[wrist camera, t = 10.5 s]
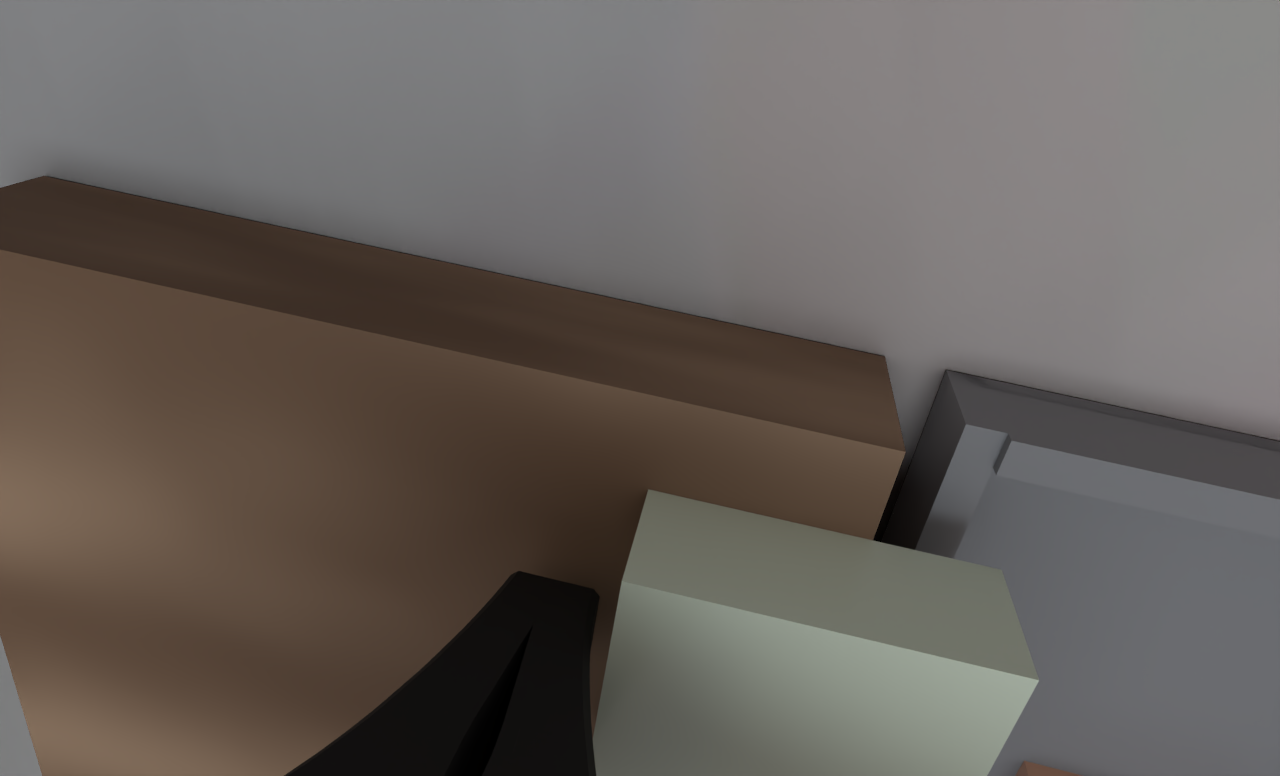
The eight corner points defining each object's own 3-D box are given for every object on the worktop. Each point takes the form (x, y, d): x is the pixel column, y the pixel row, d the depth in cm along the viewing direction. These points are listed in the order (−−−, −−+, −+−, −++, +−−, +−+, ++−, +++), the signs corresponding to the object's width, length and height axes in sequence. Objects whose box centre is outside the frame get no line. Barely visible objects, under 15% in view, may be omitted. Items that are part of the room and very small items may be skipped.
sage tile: (893, 798, 14) (908, 920, 12) (603, 724, 14) (575, 832, 12) (1001, 569, 11) (1039, 680, 10) (648, 489, 12) (621, 581, 10)
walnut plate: (699, 909, 21) (684, 1044, 18) (156, 760, 22) (70, 867, 19) (884, 356, 13) (905, 452, 11) (43, 176, 15) (-124, 221, 12)
